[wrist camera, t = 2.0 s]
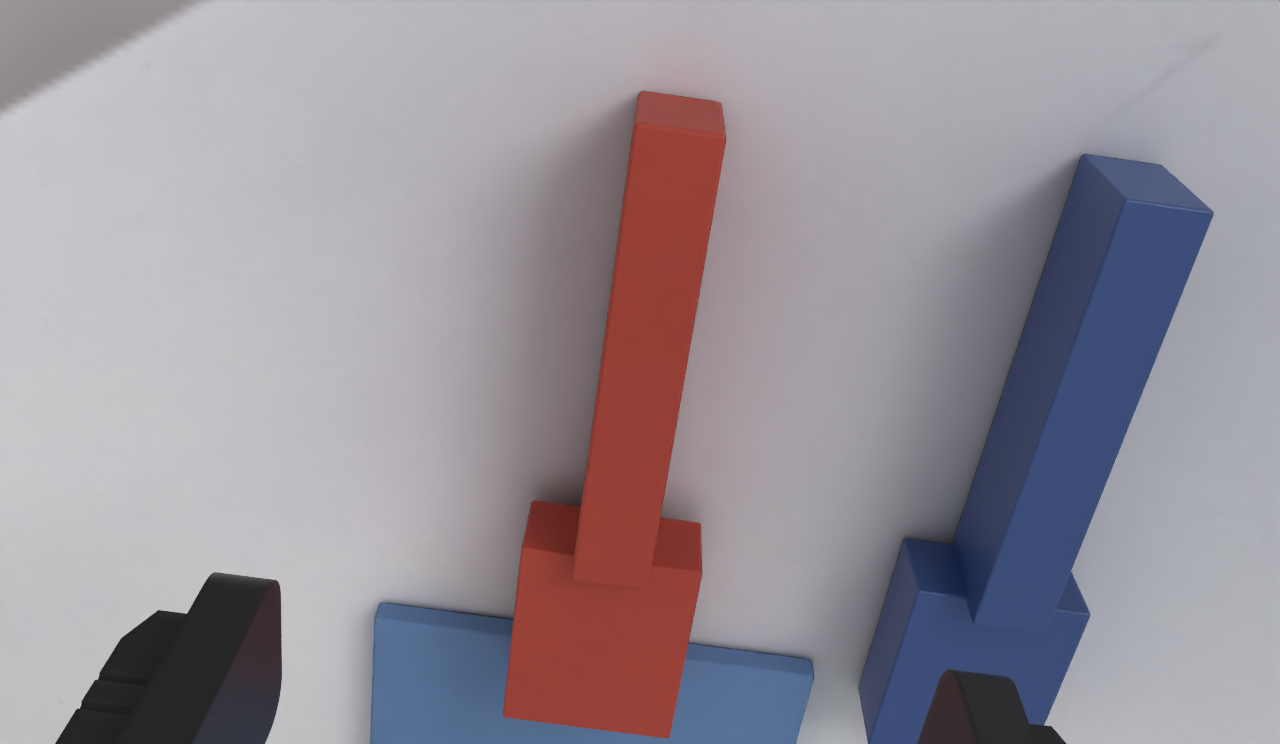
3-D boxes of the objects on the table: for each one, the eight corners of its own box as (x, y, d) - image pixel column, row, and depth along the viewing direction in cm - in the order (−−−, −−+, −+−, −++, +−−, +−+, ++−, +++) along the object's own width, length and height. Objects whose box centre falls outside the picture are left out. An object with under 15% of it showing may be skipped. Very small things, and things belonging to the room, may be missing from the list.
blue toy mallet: (1024, 143, 21) (1061, 189, 19) (1219, 172, 21) (1279, 221, 19) (857, 687, 27) (871, 767, 25) (1008, 708, 27) (1034, 789, 25)
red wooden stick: (580, 80, 20) (567, 112, 18) (781, 110, 21) (792, 145, 18) (512, 662, 26) (498, 738, 24) (670, 682, 26) (669, 761, 24)
